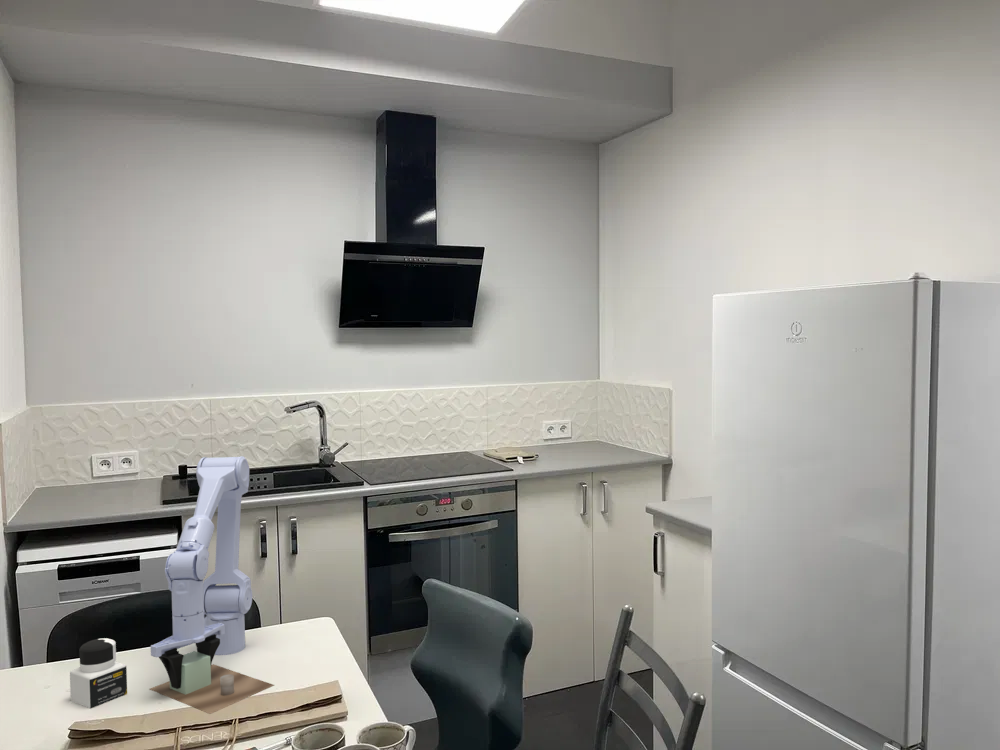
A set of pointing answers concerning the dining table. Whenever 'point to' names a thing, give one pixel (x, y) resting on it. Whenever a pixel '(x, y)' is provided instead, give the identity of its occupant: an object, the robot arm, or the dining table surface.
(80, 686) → the medicine bottle
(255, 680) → the base board
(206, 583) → the robot arm
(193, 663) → the mint green cube
